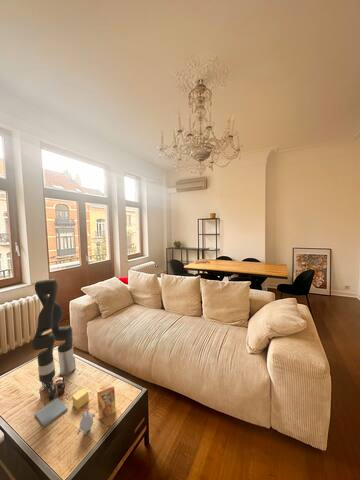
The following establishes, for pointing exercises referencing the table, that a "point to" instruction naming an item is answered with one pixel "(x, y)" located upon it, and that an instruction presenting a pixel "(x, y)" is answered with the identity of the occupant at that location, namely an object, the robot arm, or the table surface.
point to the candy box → (106, 400)
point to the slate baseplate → (50, 412)
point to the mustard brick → (80, 398)
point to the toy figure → (86, 422)
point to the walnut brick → (47, 395)
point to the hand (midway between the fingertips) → (49, 397)
